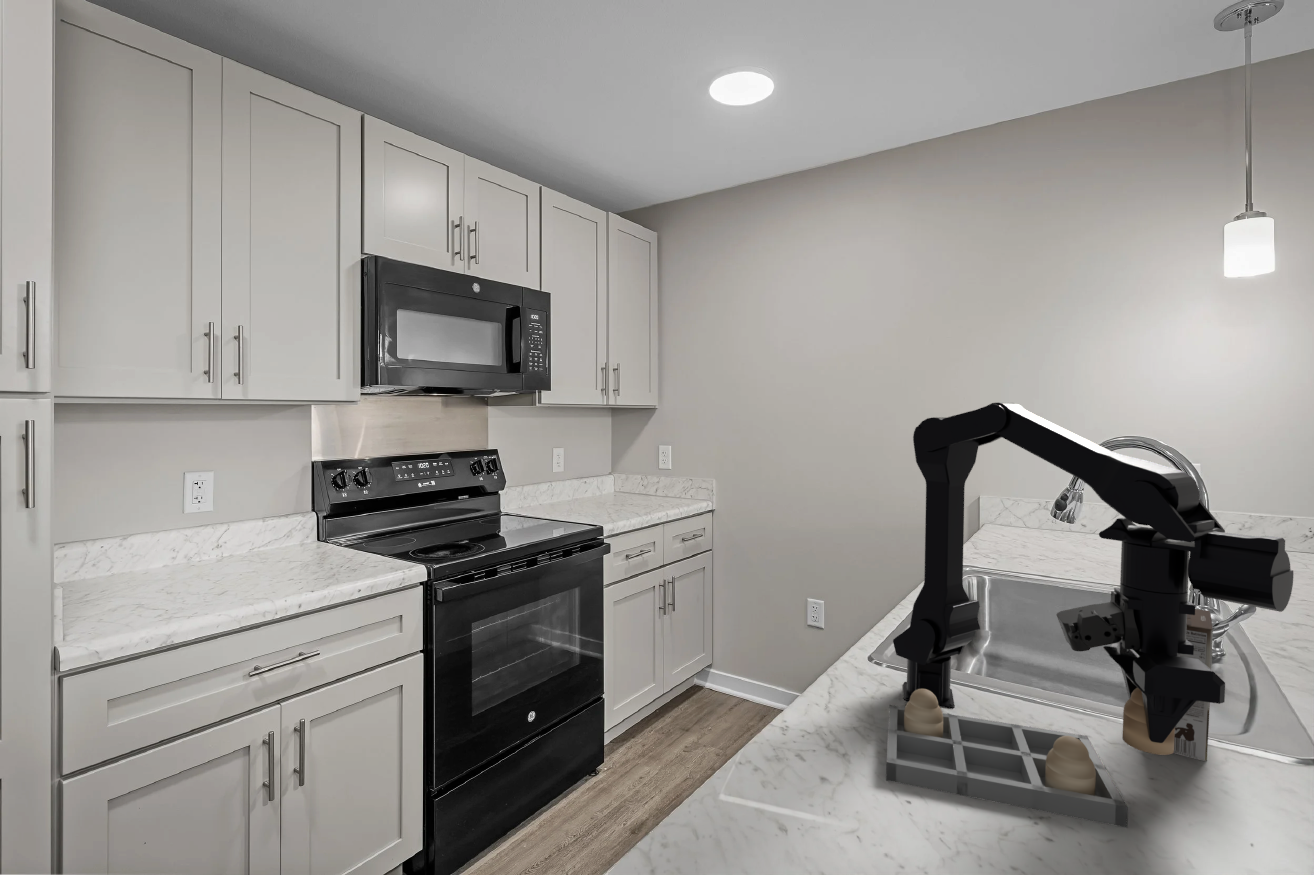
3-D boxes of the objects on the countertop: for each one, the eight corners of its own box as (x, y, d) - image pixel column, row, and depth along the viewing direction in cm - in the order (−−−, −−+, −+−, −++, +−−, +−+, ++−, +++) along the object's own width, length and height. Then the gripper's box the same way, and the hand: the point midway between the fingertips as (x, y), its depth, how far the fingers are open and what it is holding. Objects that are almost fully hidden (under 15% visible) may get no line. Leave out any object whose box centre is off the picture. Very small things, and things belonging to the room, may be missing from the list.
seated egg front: (1041, 780, 71) (1042, 724, 71) (1088, 788, 69) (1090, 731, 69) (1049, 802, 67) (1051, 743, 66) (1100, 812, 65) (1102, 751, 65)
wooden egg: (1117, 731, 72) (1118, 676, 72) (1164, 738, 71) (1167, 682, 71) (1129, 750, 68) (1131, 691, 68) (1181, 758, 67) (1183, 698, 66)
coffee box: (1143, 720, 86) (1147, 599, 85) (1206, 736, 82) (1211, 609, 81) (1138, 747, 79) (1143, 616, 78) (1208, 765, 75) (1213, 627, 74)
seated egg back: (903, 728, 82) (904, 680, 82) (941, 734, 81) (942, 685, 81) (903, 744, 78) (905, 694, 78) (943, 751, 77) (945, 700, 76)
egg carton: (889, 722, 85) (889, 704, 85) (1086, 755, 77) (1087, 735, 77) (886, 783, 71) (886, 761, 71) (1127, 831, 63) (1128, 806, 63)
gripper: (1047, 561, 81) (1044, 685, 81) (1087, 601, 63) (1082, 759, 64) (1156, 570, 77) (1151, 700, 77) (1230, 615, 59) (1224, 783, 60)
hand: (1147, 731), depth 70 cm, fingers closed on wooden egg, 4 cm apart
